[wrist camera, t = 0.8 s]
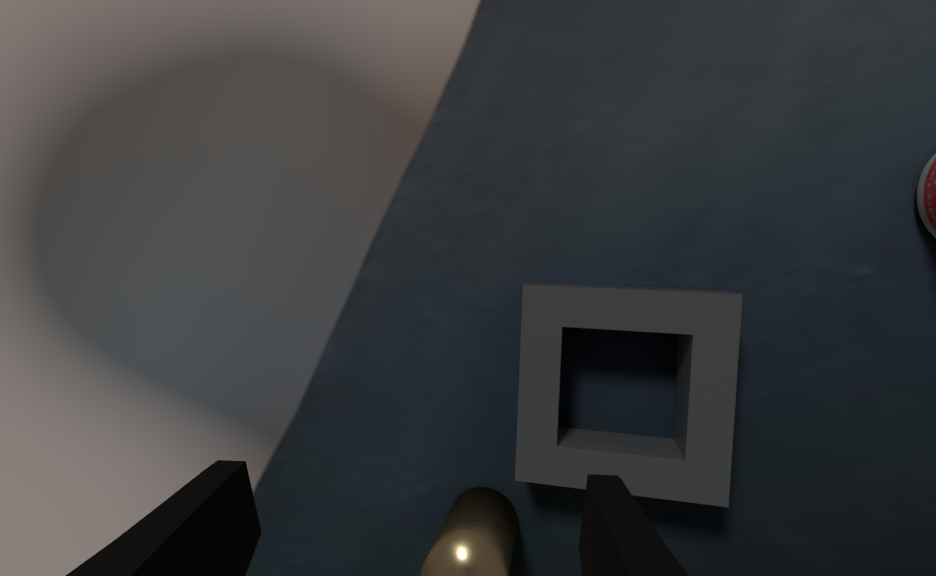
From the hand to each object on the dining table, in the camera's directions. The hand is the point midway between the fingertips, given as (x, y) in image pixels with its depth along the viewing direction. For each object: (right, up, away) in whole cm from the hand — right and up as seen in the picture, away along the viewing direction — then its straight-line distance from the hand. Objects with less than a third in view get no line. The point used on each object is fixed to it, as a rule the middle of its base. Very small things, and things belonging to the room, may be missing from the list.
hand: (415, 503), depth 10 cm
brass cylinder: (+2, -9, +18) cm, 20 cm away
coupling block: (+9, 0, +16) cm, 19 cm away
